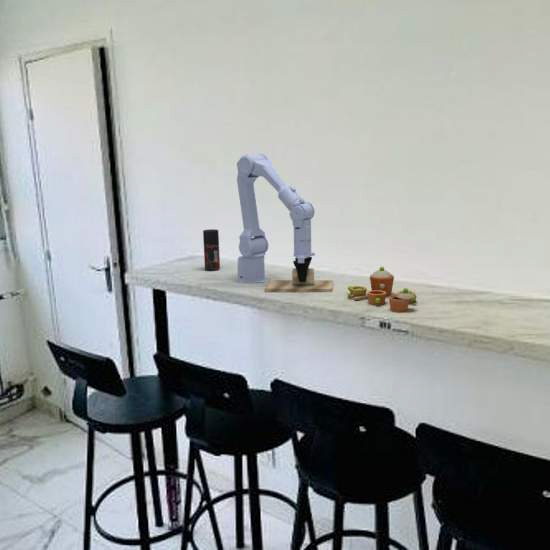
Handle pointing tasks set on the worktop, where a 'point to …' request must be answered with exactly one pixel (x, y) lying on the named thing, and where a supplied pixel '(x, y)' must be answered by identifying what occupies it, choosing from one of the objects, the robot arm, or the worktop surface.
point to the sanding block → (308, 280)
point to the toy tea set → (383, 292)
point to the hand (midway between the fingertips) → (303, 280)
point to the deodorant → (211, 249)
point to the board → (287, 286)
